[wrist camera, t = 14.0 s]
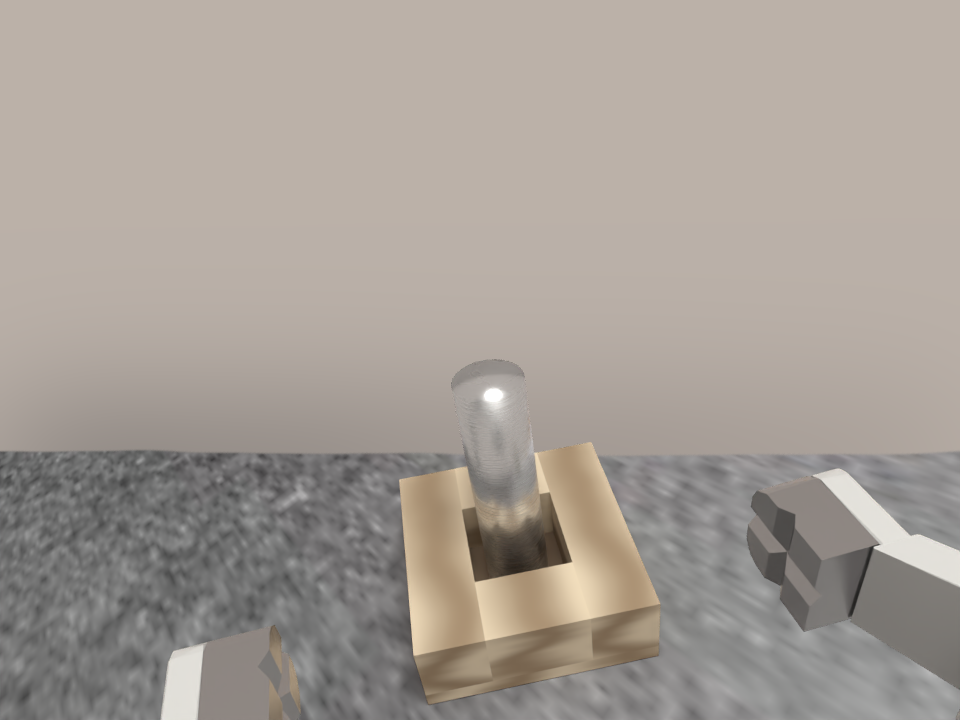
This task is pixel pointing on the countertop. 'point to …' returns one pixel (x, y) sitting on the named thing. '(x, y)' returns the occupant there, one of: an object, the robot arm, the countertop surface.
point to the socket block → (524, 584)
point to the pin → (501, 465)
